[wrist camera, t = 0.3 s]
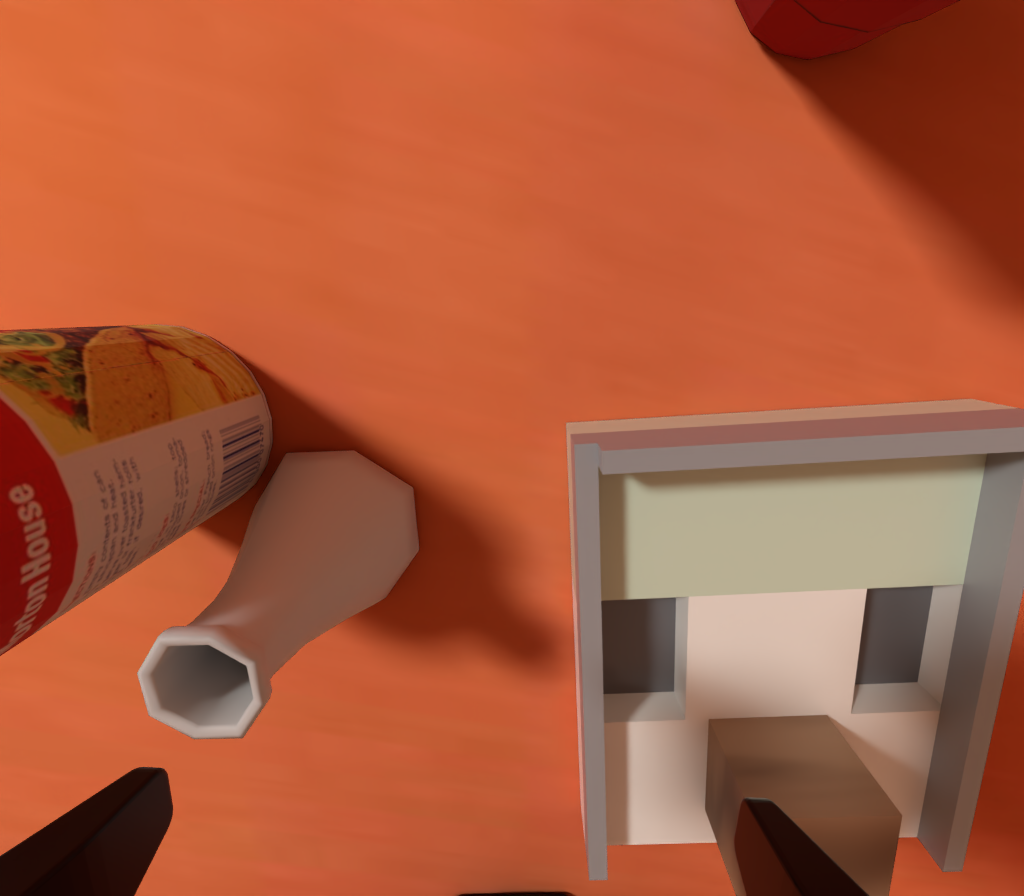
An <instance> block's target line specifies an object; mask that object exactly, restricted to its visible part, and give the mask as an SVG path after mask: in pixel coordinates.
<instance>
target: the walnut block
mask: <svg viewBox="0 0 1024 896" xmlns="http://www.w3.org/2000/svg"><path fill="white" fill-rule="evenodd" d="M746 797H753V798H767V799H770V800H771V801H773V802H774V803H775V804H777V805H778V806H779V807H780V808H781V809H782V810H783V811H784V812H785V813H786V814H787V815H788V816H789V817H790V818H791V819H792V820H793V821H794V822H795V823H796V824H797V825H798V826H799V827H800V828H801V829H802V830H803V831H804V832H805V833H806V834H807V835H808V836H809V837H810V838H811V839H812V840H813V841H814V842H815V843H816V844H817V845H818V846H819V847H820V848H821V849H822V850H824V851H825V852H826V853H827V854H828V855H829V856H830V857H831V858H832V859H833V860H834V861H835V862H836V863H837V864H838V865H839V866H840V867H841V868H842V869H843V870H844V871H845V872H846V873H847V874H848V875H849V876H850V877H851V878H852V879H853V880H854V881H855V882H856V883H857V884H858V885H859V886H860V887H861V888H862V889H863V890H864V891H865V892H866V893H867V894H868V895H869V896H889V891H890V885H891V879H892V873H893V868H894V862H895V856H896V850H897V844H898V838H899V833H900V827H901V821H902V814H901V813H900V811H899V810H898V809H897V807H896V806H895V805H894V803H893V802H892V801H891V799H890V798H889V797H888V795H887V794H886V793H885V791H884V790H883V789H882V787H881V786H880V785H879V783H878V782H877V781H876V779H875V778H874V777H873V775H872V774H871V773H870V771H869V770H868V769H867V767H866V766H865V765H864V763H863V762H862V761H861V759H860V758H859V757H858V755H857V754H856V753H855V751H854V750H853V749H852V747H851V746H850V745H849V743H848V742H847V741H846V739H845V738H844V737H843V735H842V734H841V733H840V731H839V730H838V729H837V727H836V726H835V725H834V723H833V722H832V721H831V719H830V718H829V717H828V715H807V716H779V717H752V718H724V719H709V724H708V748H707V772H706V795H705V811H706V814H707V817H708V819H709V822H710V825H711V828H712V830H713V833H714V836H715V839H716V841H717V844H718V847H719V850H720V852H721V855H722V858H723V861H724V863H725V866H726V869H727V872H728V874H729V877H730V880H731V883H732V885H733V888H734V891H735V894H736V896H746V892H745V889H744V885H743V881H742V877H741V874H740V870H739V866H738V863H737V859H736V855H735V849H734V835H735V829H736V824H737V818H738V813H739V808H740V803H741V801H742V800H743V799H744V798H746Z"/></svg>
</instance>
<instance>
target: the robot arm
mask: <svg viewBox="0 0 1024 896" xmlns="http://www.w3.org/2000/svg"><path fill="white" fill-rule="evenodd" d="M172 815H173V804H172V798H171V791H170V785H169V779H168V774H167V772H166V771H165V770H164V769H163V768H153V767H139V768H136V769H134V770H132V771H130V772H128V773H127V774H125V775H124V776H122V777H121V778H119V779H118V780H116V781H115V782H113V783H112V784H110V785H109V786H107V787H105V788H104V789H102V790H101V791H99V792H98V793H96V794H95V795H93V796H92V797H90V798H89V799H87V800H86V801H84V802H82V803H81V804H79V805H78V806H76V807H75V808H73V809H72V810H70V811H69V812H67V813H66V814H64V815H62V816H61V817H59V818H58V819H56V820H55V821H53V822H52V823H50V824H49V825H47V826H46V827H44V828H43V829H41V830H39V831H38V832H36V833H35V834H33V835H32V836H30V837H29V838H27V839H26V840H24V841H23V842H21V843H20V844H18V845H16V846H15V847H13V848H12V849H10V850H9V851H7V852H6V853H4V854H3V855H1V856H0V896H134V895H135V893H136V891H137V889H138V887H139V885H140V883H141V881H142V879H143V877H144V875H145V873H146V871H147V869H148V867H149V865H150V863H151V861H152V859H153V857H154V855H155V853H156V851H157V849H158V847H159V845H160V843H161V841H162V839H163V837H164V835H165V834H166V832H167V830H168V827H169V825H170V822H171V819H172ZM734 849H735V855H736V859H737V863H738V866H739V870H740V874H741V877H742V881H743V885H744V889H745V892H746V896H869V895H868V894H867V893H866V892H865V891H864V890H863V889H862V888H861V887H860V886H859V885H858V884H857V883H856V882H855V881H854V880H853V879H852V878H851V877H850V876H849V875H848V874H847V873H846V872H845V871H844V870H843V869H842V868H841V867H840V866H839V865H838V864H837V863H836V862H835V861H834V860H833V859H832V858H831V857H830V856H829V855H828V854H827V853H826V852H825V851H824V850H822V849H821V848H820V847H819V846H818V845H817V844H816V843H815V842H814V841H813V840H812V839H811V838H810V837H809V836H808V835H807V834H806V833H805V832H804V831H803V830H802V829H801V828H800V827H799V826H798V825H797V824H796V823H795V822H794V821H793V820H792V819H791V818H790V817H789V816H788V815H787V814H786V813H785V812H784V811H783V810H782V809H781V808H780V807H779V806H778V805H777V804H775V803H774V802H773V801H771V800H770V799H767V798H753V797H746V798H744V799H743V800H742V801H741V803H740V808H739V813H738V818H737V824H736V829H735V835H734ZM504 896H567V895H564V894H548V895H504Z"/></svg>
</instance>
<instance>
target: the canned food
mask: <svg viewBox="0 0 1024 896" xmlns="http://www.w3.org/2000/svg"><path fill="white" fill-rule="evenodd" d="M272 443H273V437H272V417H271V414H270V411H269V407H268V404H267V401H266V397H265V394H264V392H263V391H262V389H261V387H260V386H259V384H258V382H257V381H256V379H255V377H254V375H253V374H252V372H251V371H250V370H249V369H248V368H247V367H246V365H245V364H244V363H243V362H242V361H241V360H240V359H239V358H238V357H237V356H236V355H235V354H234V353H233V352H232V351H231V350H229V349H228V348H226V347H225V346H223V345H222V344H220V343H219V342H217V341H216V340H214V339H213V338H211V337H209V336H207V335H204V334H202V333H199V332H196V331H193V330H190V329H188V328H185V327H179V326H168V325H157V324H156V325H129V326H103V327H76V328H49V329H23V330H0V656H1V655H2V654H4V653H5V652H7V651H8V650H10V649H11V648H13V647H14V646H16V645H17V644H19V643H20V642H22V641H24V640H25V639H27V638H28V637H30V636H31V635H33V634H34V633H36V632H37V631H39V630H40V629H42V628H43V627H45V626H46V625H48V624H49V623H51V622H52V621H54V620H55V619H57V618H58V617H60V616H61V615H63V614H65V613H66V612H68V611H69V610H71V609H72V608H74V607H75V606H77V605H78V604H80V603H81V602H83V601H84V600H86V599H87V598H89V597H90V596H92V595H93V594H95V593H96V592H98V591H99V590H101V589H102V588H104V587H105V586H107V585H109V584H110V583H112V582H113V581H115V580H116V579H118V578H119V577H121V576H122V575H124V574H125V573H127V572H128V571H130V570H131V569H133V568H134V567H136V566H137V565H139V564H140V563H142V562H143V561H145V560H146V559H148V558H149V557H151V556H153V555H154V554H156V553H157V552H159V551H160V550H162V549H163V548H165V547H166V546H168V545H169V544H171V543H172V542H174V541H175V540H177V539H178V538H180V537H181V536H183V535H184V534H186V533H187V532H189V531H190V530H192V529H194V528H195V527H197V526H198V525H200V524H201V523H203V522H204V521H206V520H207V519H209V518H210V517H212V516H213V515H215V514H216V513H218V512H219V511H221V510H222V509H224V508H225V507H227V506H228V505H230V504H231V503H233V502H234V501H236V500H238V499H239V498H240V497H241V496H243V495H244V494H245V493H246V492H247V491H248V490H249V489H250V488H252V487H253V486H254V485H255V484H256V483H257V481H258V479H259V478H260V476H261V474H262V473H263V471H264V469H265V468H266V466H267V464H268V460H269V456H270V452H271V447H272Z"/></svg>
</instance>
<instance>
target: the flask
mask: <svg viewBox="0 0 1024 896" xmlns="http://www.w3.org/2000/svg"><path fill="white" fill-rule="evenodd" d="M418 551H419V541H418V531H417V521H416V511H415V501H414V491H413V487H411V486H410V485H408V484H407V483H405V482H403V481H402V480H400V479H399V478H397V477H396V476H394V475H392V474H391V473H389V472H388V471H386V470H385V469H383V468H381V467H380V466H378V465H377V464H375V463H373V462H372V461H370V460H369V459H367V458H366V457H364V456H362V455H361V454H359V453H358V452H356V451H355V450H350V451H323V452H296V453H286V454H285V456H284V457H283V459H282V461H281V462H280V464H279V466H278V468H277V469H276V471H275V473H274V474H273V476H272V478H271V480H270V481H269V483H268V485H267V486H266V488H265V490H264V492H263V493H262V495H261V497H260V498H259V500H258V502H257V503H256V505H255V507H254V510H253V512H252V515H251V518H250V521H249V524H248V527H247V530H246V533H245V536H244V539H243V543H242V546H241V548H240V551H239V553H238V556H237V558H236V561H235V563H234V566H233V568H232V571H231V573H230V576H229V578H228V581H227V582H226V584H225V585H224V587H223V588H222V590H221V591H220V593H219V594H218V596H217V597H216V599H215V600H214V601H213V602H212V603H211V604H210V605H209V606H208V607H207V608H206V609H205V610H204V611H203V612H202V613H201V614H200V615H199V616H198V617H197V618H196V619H195V620H194V621H193V622H191V623H190V624H189V625H187V626H176V627H171V628H169V629H167V630H165V631H163V632H162V633H161V634H160V635H159V636H158V638H157V640H156V641H155V643H154V645H153V647H152V648H151V650H150V652H149V654H148V655H147V657H146V659H145V660H144V662H143V664H142V666H141V667H140V669H139V671H138V673H137V674H138V678H139V682H140V685H141V689H142V692H143V696H144V700H145V703H146V707H147V710H148V714H149V716H151V717H153V718H155V719H156V720H158V721H160V722H162V723H164V724H166V725H168V726H170V727H172V728H174V729H176V730H178V731H179V732H181V733H183V734H185V735H187V736H189V737H191V738H193V739H229V738H243V737H244V736H245V734H246V733H247V731H248V730H249V728H250V727H251V726H252V724H253V723H254V721H255V720H256V718H257V717H258V715H259V714H260V712H261V711H262V709H263V708H264V706H265V705H266V703H267V702H268V700H269V699H270V696H271V693H272V687H271V682H270V679H271V678H272V676H273V675H274V674H275V673H276V672H277V671H278V670H279V669H280V668H281V667H282V666H283V665H284V664H285V663H286V662H287V661H288V660H289V659H290V658H291V657H293V656H294V655H295V654H296V653H297V652H298V651H299V650H300V649H301V648H302V647H303V646H304V645H305V644H307V643H308V642H310V641H312V640H313V639H315V638H316V637H318V636H320V635H321V634H323V633H325V632H326V631H328V630H329V629H331V628H333V627H334V626H336V625H338V624H339V623H341V622H343V621H344V620H346V619H348V618H349V617H351V616H353V615H355V614H357V613H359V612H361V611H363V610H365V609H366V608H368V607H370V606H372V605H374V604H376V603H378V602H379V601H381V600H383V599H384V598H386V597H387V595H388V594H389V592H390V591H391V590H392V588H393V587H394V585H395V584H396V582H397V581H398V579H399V578H400V577H401V575H402V574H403V572H404V571H405V569H406V568H407V567H408V565H409V564H410V562H411V561H412V559H413V558H414V557H415V555H416V554H417V552H418Z"/></svg>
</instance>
